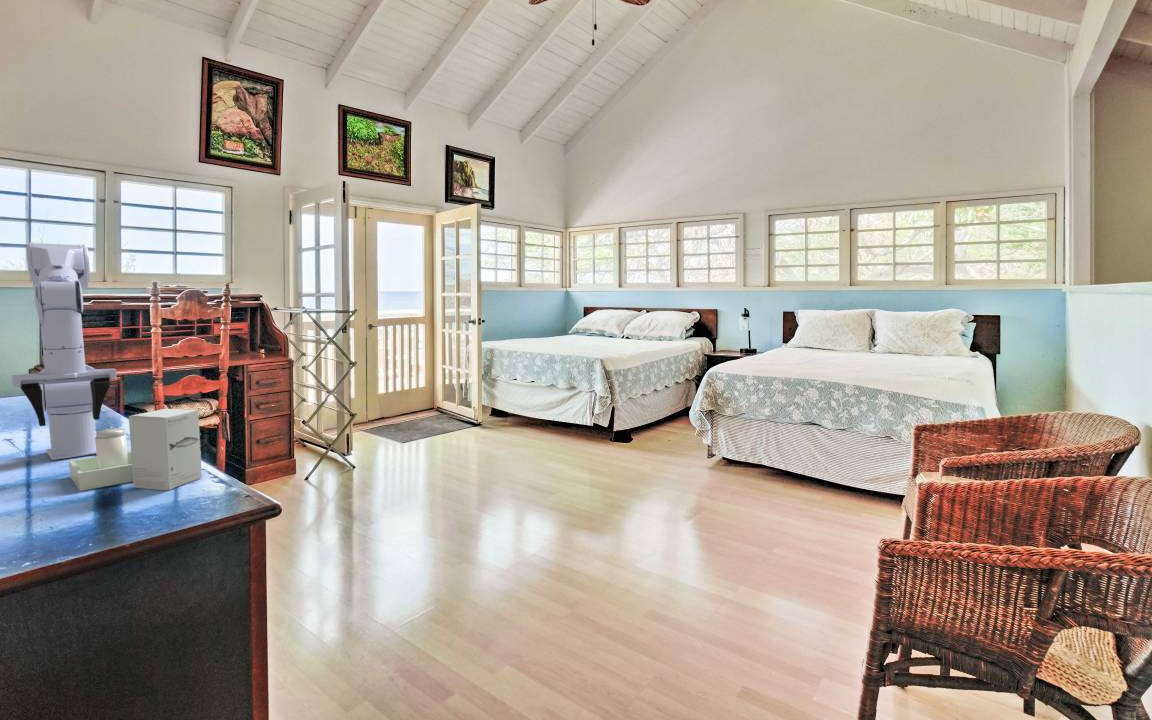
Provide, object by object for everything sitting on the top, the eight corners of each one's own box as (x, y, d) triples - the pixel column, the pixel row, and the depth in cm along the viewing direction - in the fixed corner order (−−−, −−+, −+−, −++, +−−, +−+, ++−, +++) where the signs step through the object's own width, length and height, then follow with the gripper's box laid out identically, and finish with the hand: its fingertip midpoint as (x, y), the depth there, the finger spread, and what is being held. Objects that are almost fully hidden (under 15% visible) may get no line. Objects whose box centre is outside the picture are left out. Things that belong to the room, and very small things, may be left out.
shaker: (95, 474, 110) (92, 430, 109) (125, 469, 113) (122, 426, 112) (101, 479, 107) (97, 434, 106) (131, 474, 110) (128, 430, 109)
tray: (70, 477, 110) (68, 460, 109) (143, 464, 118) (142, 449, 117) (79, 490, 102) (78, 473, 102) (157, 477, 110) (156, 460, 110)
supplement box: (168, 491, 102) (163, 417, 101) (132, 488, 104) (126, 415, 102) (203, 478, 109) (199, 409, 108) (168, 475, 111) (164, 407, 110)
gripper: (11, 352, 102) (18, 431, 104) (117, 347, 113) (123, 419, 114) (7, 349, 107) (15, 425, 109) (110, 344, 118) (115, 414, 119)
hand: (70, 421), depth 112 cm, fingers open, 7 cm apart
